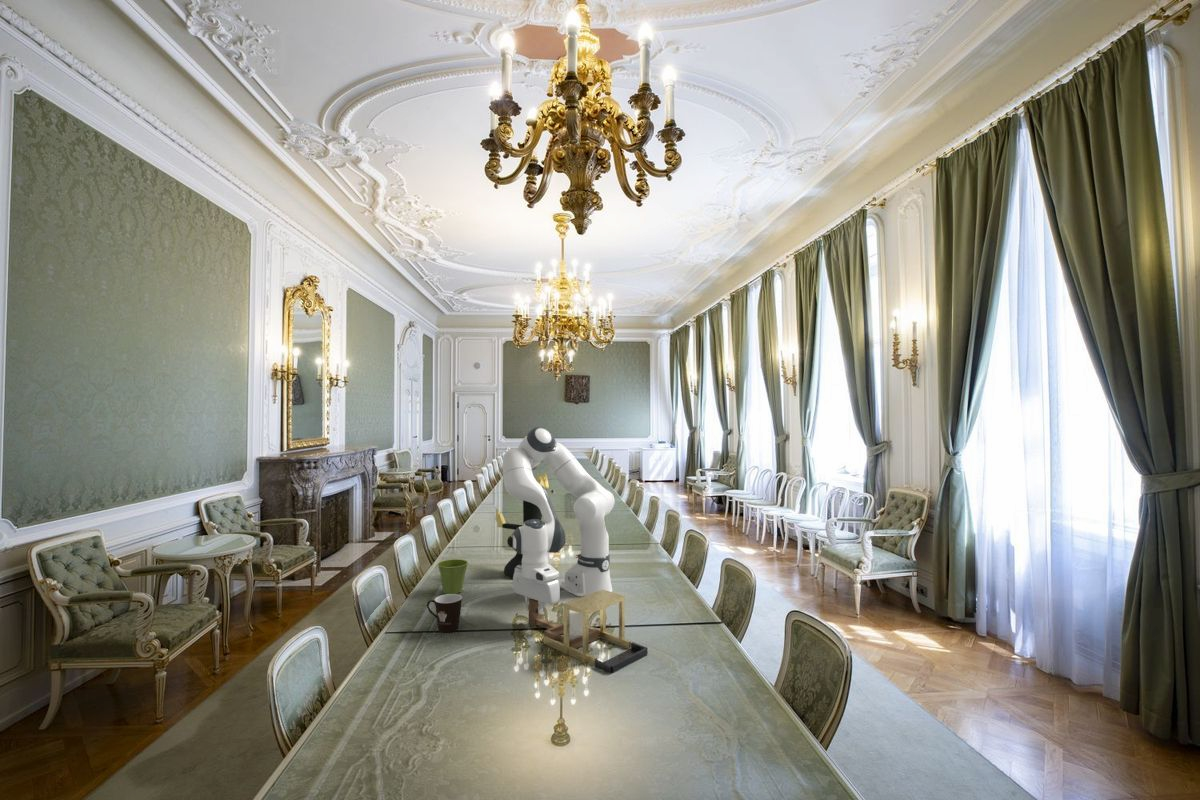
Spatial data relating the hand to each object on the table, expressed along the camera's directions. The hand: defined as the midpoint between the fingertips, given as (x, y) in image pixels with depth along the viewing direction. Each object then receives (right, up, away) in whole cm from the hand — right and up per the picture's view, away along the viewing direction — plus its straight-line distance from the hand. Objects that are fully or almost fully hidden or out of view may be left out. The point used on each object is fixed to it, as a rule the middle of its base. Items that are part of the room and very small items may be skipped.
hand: (535, 611), depth 185 cm
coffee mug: (-29, -4, -4) cm, 29 cm away
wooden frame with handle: (+8, -4, -8) cm, 12 cm away
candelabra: (-10, -5, +54) cm, 55 cm away
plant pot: (-36, -5, +32) cm, 48 cm away
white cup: (+14, -4, -13) cm, 20 cm away
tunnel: (+20, -4, -19) cm, 28 cm away
